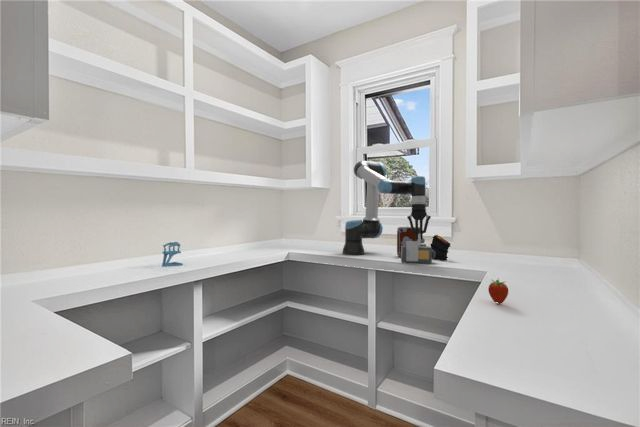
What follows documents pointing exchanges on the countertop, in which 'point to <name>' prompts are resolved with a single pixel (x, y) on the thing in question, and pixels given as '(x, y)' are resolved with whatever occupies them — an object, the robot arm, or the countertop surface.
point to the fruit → (498, 291)
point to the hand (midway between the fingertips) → (419, 245)
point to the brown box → (406, 237)
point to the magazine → (440, 248)
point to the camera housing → (419, 255)
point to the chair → (171, 254)
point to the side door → (411, 250)
